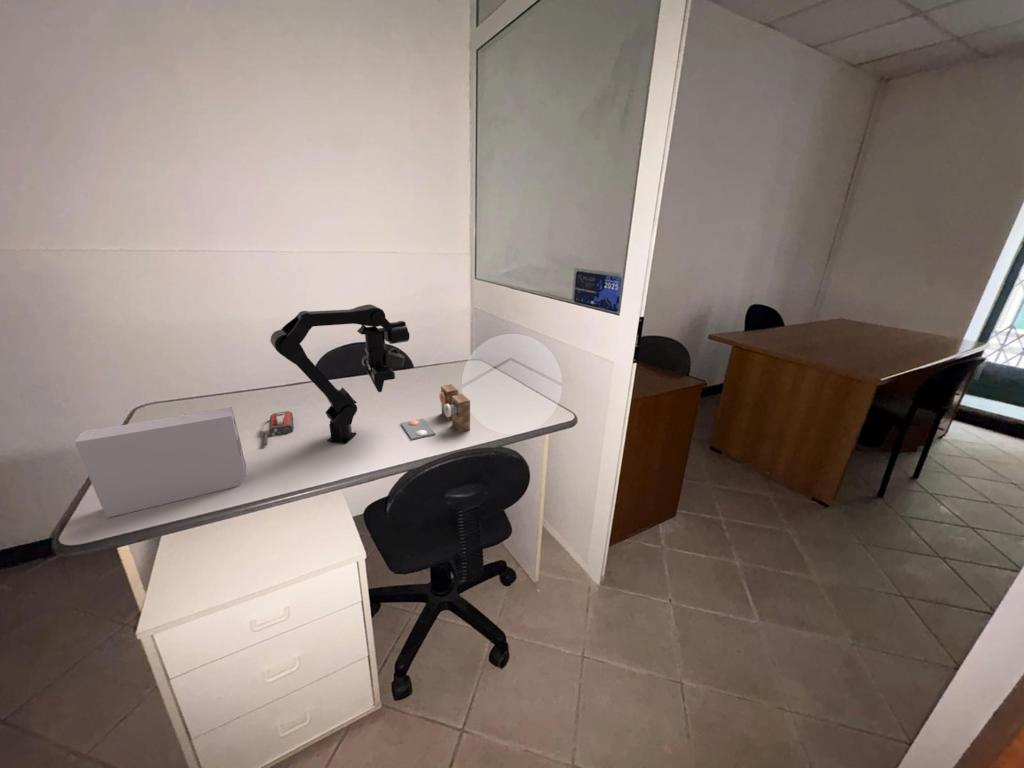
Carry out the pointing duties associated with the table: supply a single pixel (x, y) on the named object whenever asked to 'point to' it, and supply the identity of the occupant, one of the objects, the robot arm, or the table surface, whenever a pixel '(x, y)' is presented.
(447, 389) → the post
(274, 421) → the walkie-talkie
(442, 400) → the plunger
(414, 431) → the card
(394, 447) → the table surface
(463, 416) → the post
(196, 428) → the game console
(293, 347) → the robot arm
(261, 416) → the table surface
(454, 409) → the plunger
